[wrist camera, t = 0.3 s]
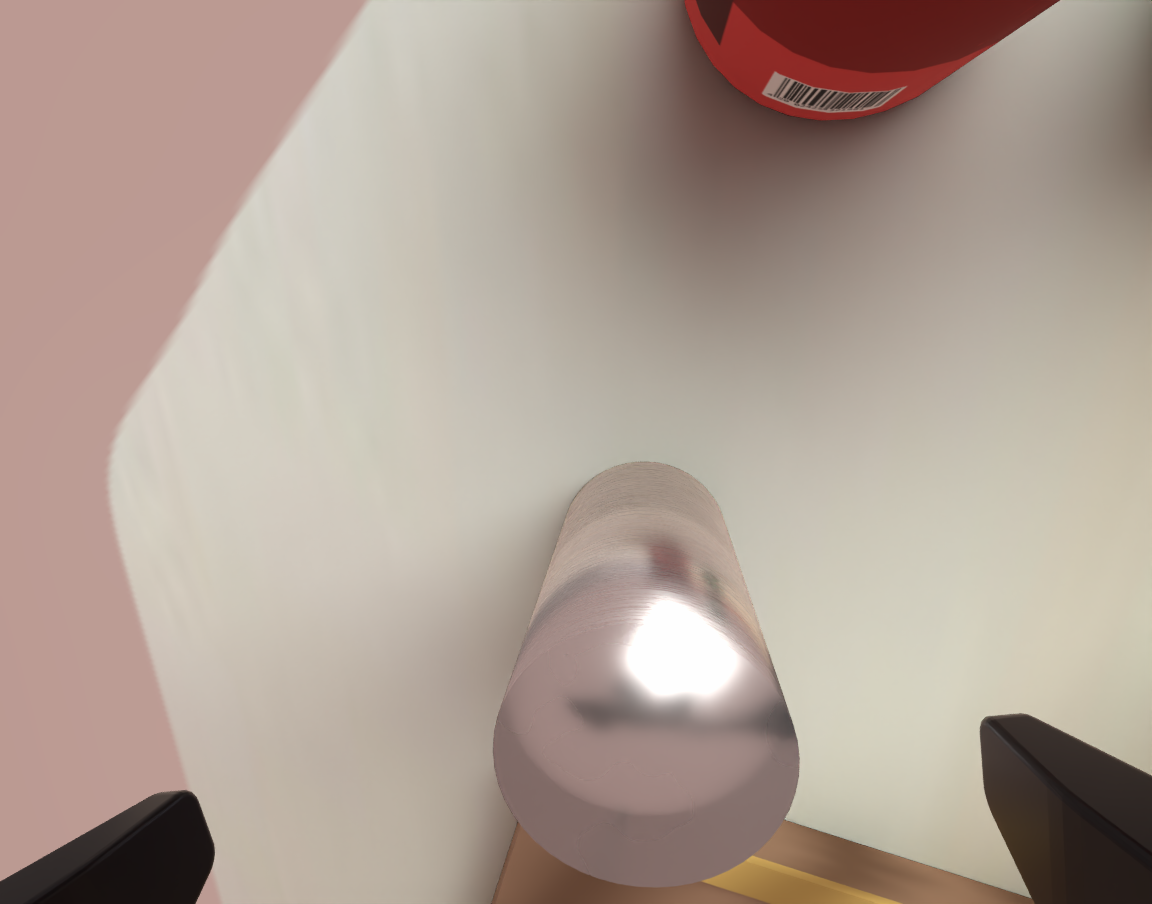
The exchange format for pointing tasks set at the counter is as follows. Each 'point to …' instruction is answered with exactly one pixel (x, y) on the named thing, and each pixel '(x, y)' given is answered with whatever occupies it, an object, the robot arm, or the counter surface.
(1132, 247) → the counter surface
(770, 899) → the dock
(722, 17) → the canned food
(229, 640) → the counter surface
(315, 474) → the counter surface
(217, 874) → the counter surface
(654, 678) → the canister
